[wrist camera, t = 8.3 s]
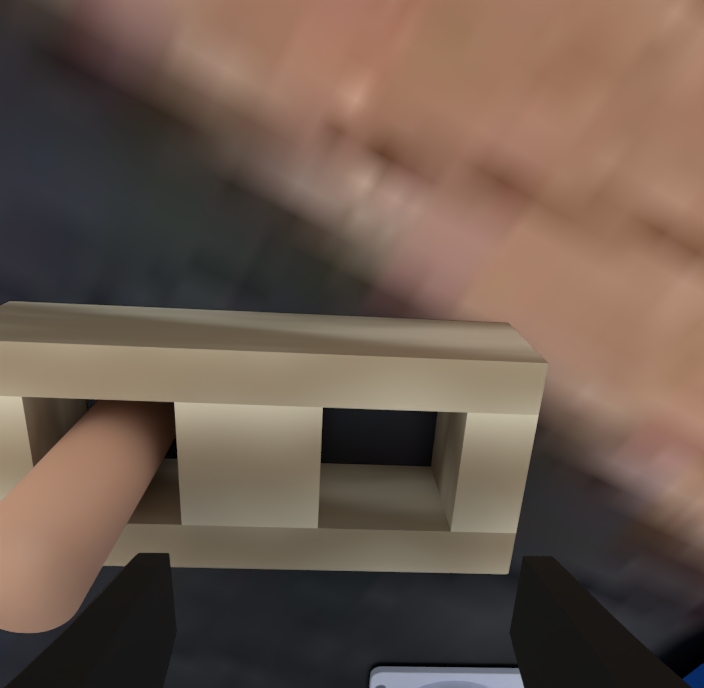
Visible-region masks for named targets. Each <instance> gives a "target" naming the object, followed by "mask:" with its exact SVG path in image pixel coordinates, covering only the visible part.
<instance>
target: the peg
mask: <svg viewBox="0 0 704 688" xmlns="http://www.w3.org/2000/svg"><path fill="white" fill-rule="evenodd" d="M175 438H176V423H175V407H174V402H157V401H129V400H100V399H99V400H98V401H97V402H96V403H95V404H94V405H93V406H92V407H91V408H90V409H89V410H88V411H87V412H86V413H85V414H84V415H83V417H82V418H81V419H80V420H79V421H78V422H77V423H76V424H75V425H74V426H73V427H72V428H71V429H70V430H69V431H68V432H67V433H66V434H65V435H64V436H63V437H62V438H61V439H60V440H59V441H58V443H57V444H56V445H55V446H54V447H53V448H52V449H51V450H50V451H49V452H48V453H47V454H46V455H45V456H44V457H43V458H42V459H41V460H40V461H39V462H38V463H37V464H36V465H35V466H34V467H33V468H32V470H31V471H30V472H29V473H28V474H27V475H26V476H25V477H24V478H23V479H22V480H21V481H20V482H19V483H18V484H17V485H16V486H15V487H14V488H13V489H12V490H11V491H10V492H9V493H8V494H7V496H6V497H5V498H4V499H3V500H2V501H1V502H0V629H3V630H6V631H11V632H17V633H37V632H44V631H48V630H51V629H54V628H56V627H59V626H61V625H62V624H64V623H65V622H67V621H68V620H69V619H70V618H72V617H73V616H74V614H75V613H76V612H77V610H78V609H79V607H80V605H81V603H82V602H83V600H84V598H85V596H86V595H87V593H88V591H89V589H90V587H91V586H92V584H93V582H94V580H95V579H96V577H97V575H98V573H99V572H100V570H101V568H102V566H103V565H104V563H105V561H106V559H107V558H108V556H109V554H110V552H111V550H112V549H113V547H114V545H115V543H116V542H117V540H118V538H119V536H120V535H121V533H122V531H123V529H124V528H125V526H126V524H127V522H128V521H129V519H130V517H131V515H132V514H133V512H134V510H135V508H136V506H137V505H138V503H139V501H140V499H141V498H142V496H143V494H144V492H145V491H146V489H147V487H148V485H149V484H150V482H151V480H152V478H153V477H154V475H155V473H156V471H157V469H158V468H159V466H160V464H161V462H162V461H163V459H164V457H165V455H166V454H167V452H168V450H169V448H170V447H171V445H172V443H173V441H174V440H175Z"/></svg>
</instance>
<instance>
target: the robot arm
mask: <svg viewBox="0 0 704 688" xmlns="http://www.w3.org/2000/svg"><path fill="white" fill-rule="evenodd" d="M176 632H177V631H176V620H175V609H174V598H173V587H172V577H171V566H170V555H169V553H138V554H137V555H135V556H134V557H133V558H132V559H131V560H130V561H129V563H128V564H127V565H126V566H125V567H124V568H123V569H122V570H121V571H120V572H119V573H118V574H117V575H116V577H115V578H114V579H113V580H112V581H111V582H110V583H109V584H108V585H107V586H106V587H105V588H104V589H103V590H102V592H101V593H100V594H99V595H98V596H97V597H96V598H95V599H94V600H93V601H92V602H91V603H90V604H89V605H88V606H87V607H86V608H85V609H84V610H83V611H82V612H81V613H80V614H79V615H78V616H77V617H76V618H75V619H74V620H73V621H72V623H71V624H70V625H69V626H68V627H67V628H66V629H65V630H64V631H63V632H62V633H61V634H60V635H59V636H58V637H57V638H56V639H55V640H54V641H53V642H52V643H51V644H50V645H49V646H47V647H46V648H45V649H44V650H43V651H42V652H41V653H40V654H39V655H38V656H37V657H36V658H35V659H34V660H33V661H31V662H30V663H29V664H28V665H27V666H26V667H25V668H24V669H23V670H22V671H21V672H20V673H19V674H18V675H16V676H15V677H14V678H13V679H12V680H11V681H10V682H9V683H8V684H7V685H6V686H4V687H3V688H163V685H164V681H165V677H166V673H167V669H168V665H169V661H170V657H171V653H172V649H173V644H174V640H175V636H176ZM510 635H511V639H512V644H513V648H514V652H515V656H516V660H517V664H518V667H519V668H473V667H394V666H380V667H376V668H374V669H373V670H372V671H371V673H370V682H369V688H692V687H691V686H690V685H688V684H687V683H686V682H685V681H684V680H683V679H681V678H680V677H679V676H678V675H677V674H676V673H674V672H673V671H672V670H671V669H670V668H669V667H668V666H666V665H665V664H664V663H663V662H662V661H661V660H660V659H658V658H657V657H656V656H655V655H654V654H653V653H652V652H651V651H650V650H648V649H647V648H646V647H645V646H644V645H643V644H642V643H641V642H640V641H639V640H638V639H637V638H635V637H634V636H633V635H632V634H631V633H630V632H629V631H628V630H627V629H626V628H625V627H624V626H623V625H622V624H621V623H620V622H619V621H618V620H616V619H615V618H614V617H613V616H612V615H611V614H610V613H609V612H608V611H607V610H606V609H605V608H604V607H603V606H602V605H601V604H600V603H599V602H598V601H597V600H596V599H595V598H594V597H593V596H592V595H591V594H590V593H589V592H588V591H587V590H586V589H585V588H584V587H583V586H582V585H581V584H580V583H579V582H578V581H577V580H576V579H575V578H574V577H573V576H572V575H571V574H570V573H569V572H568V571H567V570H566V569H565V568H564V567H563V566H562V565H561V564H560V563H559V562H558V561H557V560H556V559H555V558H554V557H552V556H523V561H522V566H521V572H520V578H519V583H518V589H517V594H516V600H515V606H514V611H513V617H512V623H511V628H510Z"/></svg>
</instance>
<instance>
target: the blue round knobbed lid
mask: <svg viewBox="0 0 704 688" xmlns="http://www.w3.org/2000/svg"><path fill="white" fill-rule="evenodd" d="M683 680H684V681H685V682H686V683H687V684H688V685H690V686H691V687H692V688H704V663H703V664H702V665H700V666H699V667H698V668H696V669H695V670H694V671H692V672H691V673H690V674H688V675H687V676H686V677H684V678H683Z"/></svg>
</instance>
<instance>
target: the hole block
mask: <svg viewBox="0 0 704 688" xmlns="http://www.w3.org/2000/svg"><path fill="white" fill-rule="evenodd" d="M547 368H548V362H547V361H546V360H545V359H544V358H543V357H542V356H541V355H540V354H539V353H538V352H537V351H536V350H535V349H534V348H533V347H532V346H531V345H530V344H529V343H528V342H527V341H526V340H525V339H524V338H523V337H522V336H521V335H520V334H519V333H518V332H517V331H516V330H515V329H514V328H513V327H512V326H511V325H510V324H509V323H497V322H474V321H451V320H429V319H406V318H383V317H360V316H337V315H315V314H292V313H269V312H246V311H223V310H201V309H178V308H155V307H132V306H109V305H87V304H64V303H41V302H18V301H9V302H7V303H5V304H3V305H1V306H0V502H1V501H2V500H3V499H4V498H5V497H6V496H7V494H8V493H9V492H10V491H11V490H12V489H13V488H14V487H15V486H16V485H17V484H18V483H19V482H20V481H21V480H22V479H23V478H24V477H25V476H26V475H27V474H28V473H29V472H30V471H31V470H32V468H33V467H34V466H35V465H36V464H37V463H38V462H39V461H40V460H41V459H42V458H43V457H44V456H45V455H46V454H47V453H48V452H49V451H50V450H51V449H52V448H53V447H54V446H55V445H56V444H57V443H58V441H59V440H60V439H61V438H62V437H63V436H64V435H65V434H66V433H67V432H68V431H69V430H70V429H71V428H72V427H73V426H74V425H75V424H76V423H77V422H78V421H79V420H80V419H81V418H82V417H83V415H84V414H85V413H86V412H87V402H86V399H100V400H129V401H157V402H174V407H175V423H176V440H177V456H178V459H168V458H164V459H163V461H162V462H161V464H160V466H159V468H158V469H157V471H156V473H155V475H154V477H153V478H152V480H151V482H150V484H149V485H148V487H147V489H146V491H145V492H144V494H143V496H142V498H141V499H140V501H139V503H138V505H137V506H136V508H135V510H134V512H133V514H132V515H131V517H130V519H129V521H128V522H127V524H126V526H125V528H124V529H123V531H122V533H121V535H120V536H119V538H118V540H117V542H116V543H115V545H114V547H113V549H112V550H111V552H110V554H109V556H108V558H107V559H106V561H105V563H104V565H103V566H126V565H127V564H128V563H129V561H130V560H131V559H132V558H133V557H134V556H135V555H137V554H138V553H169V555H170V566H171V567H193V568H241V569H288V570H335V571H382V572H429V573H476V574H508V573H509V567H510V562H511V557H512V552H513V546H514V541H515V536H516V531H517V525H518V520H519V515H520V510H521V504H522V499H523V494H524V489H525V484H526V478H527V473H528V468H529V463H530V457H531V452H532V447H533V442H534V436H535V431H536V426H537V421H538V415H539V410H540V405H541V400H542V395H543V389H544V384H545V379H546V374H547ZM323 407H325V408H353V409H381V410H409V411H437V420H436V429H435V437H434V445H433V454H432V462H431V467H429V466H396V465H364V464H331V463H321V440H322V415H323Z"/></svg>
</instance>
